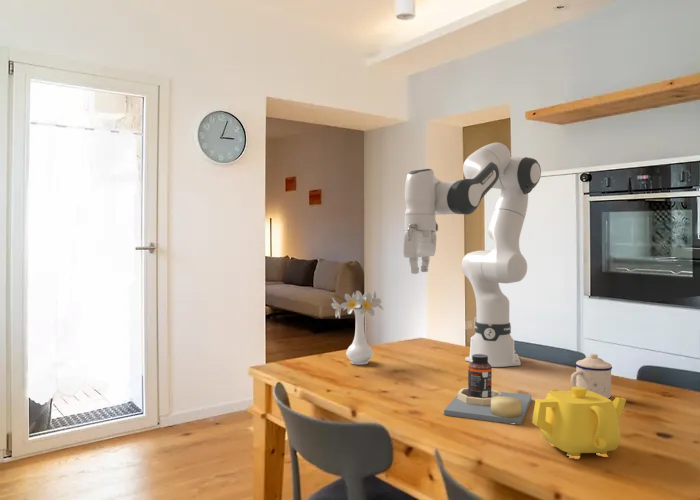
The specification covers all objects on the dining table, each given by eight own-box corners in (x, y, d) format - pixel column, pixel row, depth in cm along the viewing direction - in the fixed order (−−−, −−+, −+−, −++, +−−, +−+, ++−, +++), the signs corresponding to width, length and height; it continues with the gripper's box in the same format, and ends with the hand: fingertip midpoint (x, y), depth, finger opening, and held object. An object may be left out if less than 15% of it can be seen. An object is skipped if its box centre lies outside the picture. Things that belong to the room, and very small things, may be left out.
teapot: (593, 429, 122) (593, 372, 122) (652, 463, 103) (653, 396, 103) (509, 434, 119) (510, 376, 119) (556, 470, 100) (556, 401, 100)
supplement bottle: (492, 402, 138) (492, 358, 137) (468, 401, 139) (468, 357, 139) (490, 396, 144) (491, 353, 143) (467, 394, 145) (468, 352, 145)
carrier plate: (464, 391, 152) (464, 376, 152) (531, 399, 144) (531, 384, 144) (444, 414, 132) (444, 397, 132) (521, 425, 124) (521, 407, 124)
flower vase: (326, 362, 188) (326, 290, 187) (370, 357, 197) (371, 288, 197) (344, 370, 177) (344, 294, 176) (391, 364, 186) (391, 291, 185)
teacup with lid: (593, 390, 153) (594, 349, 153) (619, 399, 144) (620, 356, 144) (559, 394, 149) (559, 352, 149) (584, 404, 140) (584, 359, 140)
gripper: (419, 223, 146) (419, 275, 146) (439, 225, 164) (439, 271, 164) (397, 224, 148) (397, 274, 148) (419, 226, 167) (419, 270, 167)
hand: (419, 272), depth 157 cm, fingers open, 8 cm apart
